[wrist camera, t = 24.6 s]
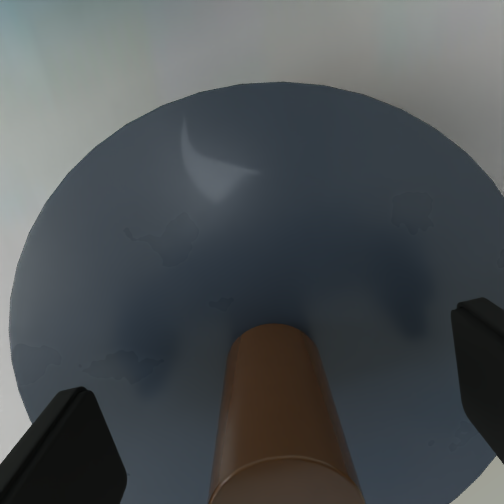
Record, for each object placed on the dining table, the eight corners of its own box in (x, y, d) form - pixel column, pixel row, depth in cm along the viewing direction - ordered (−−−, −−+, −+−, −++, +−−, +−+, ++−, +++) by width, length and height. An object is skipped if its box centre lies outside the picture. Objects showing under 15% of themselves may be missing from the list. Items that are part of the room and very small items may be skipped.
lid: (-55, 168, 11) (-405, 192, 5) (495, 17, 10) (839, -167, 4) (122, 566, 15) (37, 836, 9) (533, 489, 14) (737, 741, 8)
